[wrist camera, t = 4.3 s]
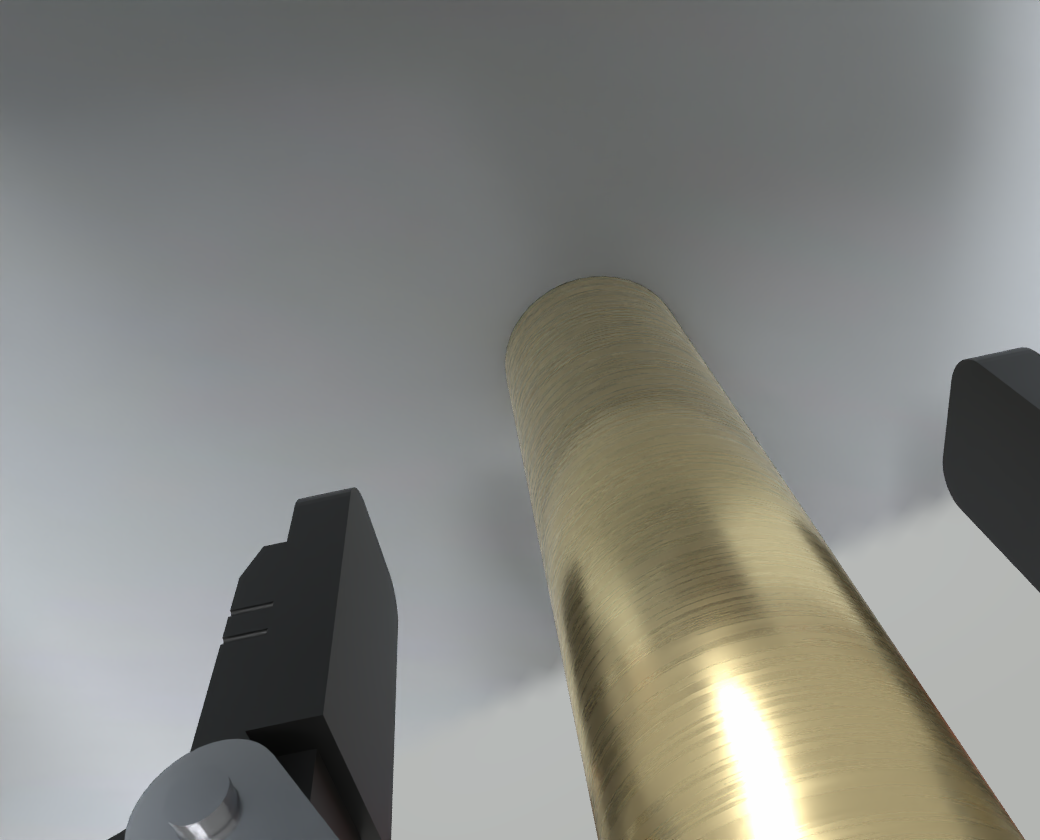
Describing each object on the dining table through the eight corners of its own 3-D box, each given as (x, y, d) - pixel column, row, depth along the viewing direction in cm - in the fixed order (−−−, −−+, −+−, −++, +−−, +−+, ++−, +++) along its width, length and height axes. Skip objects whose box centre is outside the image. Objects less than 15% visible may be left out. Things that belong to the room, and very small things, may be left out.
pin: (499, 480, 15) (684, 1719, 4) (451, 274, 13) (590, 1709, 2) (715, 434, 15) (1392, 1571, 4) (702, 222, 13) (1904, 1428, 2)
